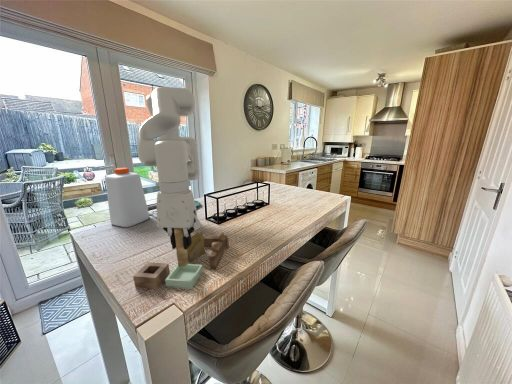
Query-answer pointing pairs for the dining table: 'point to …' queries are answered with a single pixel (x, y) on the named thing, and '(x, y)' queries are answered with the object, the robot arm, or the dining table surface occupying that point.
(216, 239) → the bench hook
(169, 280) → the tray
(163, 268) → the holder
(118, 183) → the plastic bottle
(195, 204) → the cutlery set
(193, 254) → the rock
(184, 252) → the dowel
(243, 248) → the dining table surface
